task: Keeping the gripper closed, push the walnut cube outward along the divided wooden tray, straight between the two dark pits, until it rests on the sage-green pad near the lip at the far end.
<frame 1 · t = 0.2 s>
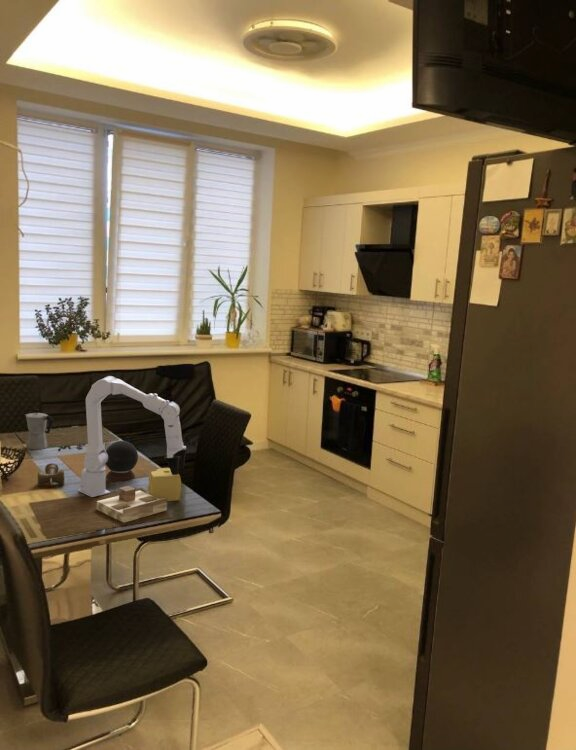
hand: (178, 471, 232), 11 cm above the table, tool pointing down, fingers open, 7 cm apart
divided wooden tray: (131, 509, 220), on the table
walnut cube: (127, 499, 221), point 3 cm above the table, touching divided wooden tray
coffeepot: (38, 447, 289), on the table
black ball: (120, 477, 255), on the table
kendama: (51, 483, 244), on the table
cheese: (163, 497, 235), on the table
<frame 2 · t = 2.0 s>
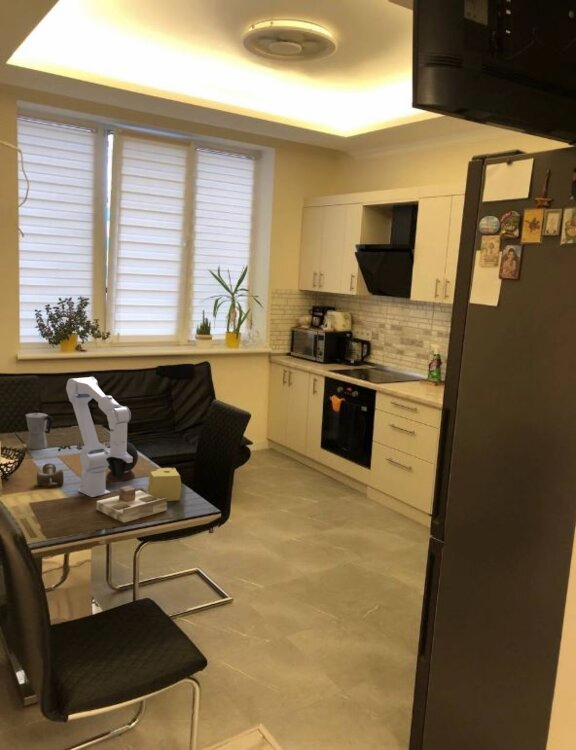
hand: (117, 477, 224), 9 cm above the table, tool pointing down, fingers closed
nothing on the table moved.
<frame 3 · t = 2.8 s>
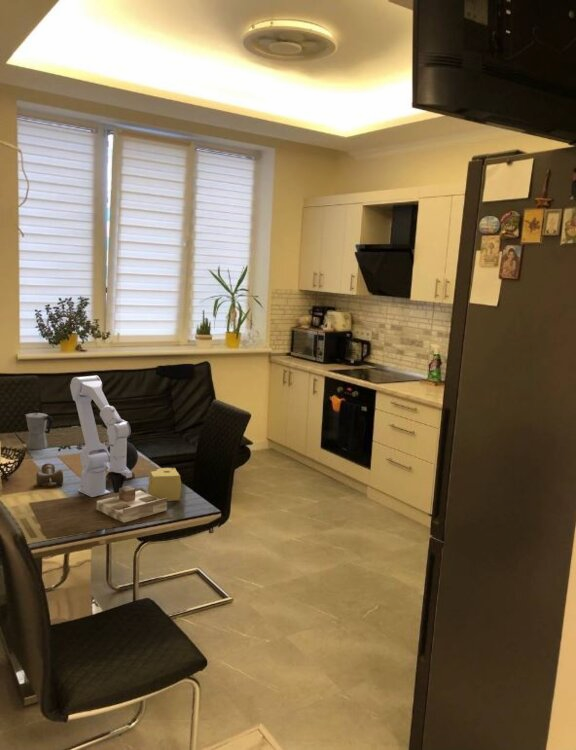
hand: (117, 492, 225), 4 cm above the table, tool pointing down, fingers closed
nothing on the table moved.
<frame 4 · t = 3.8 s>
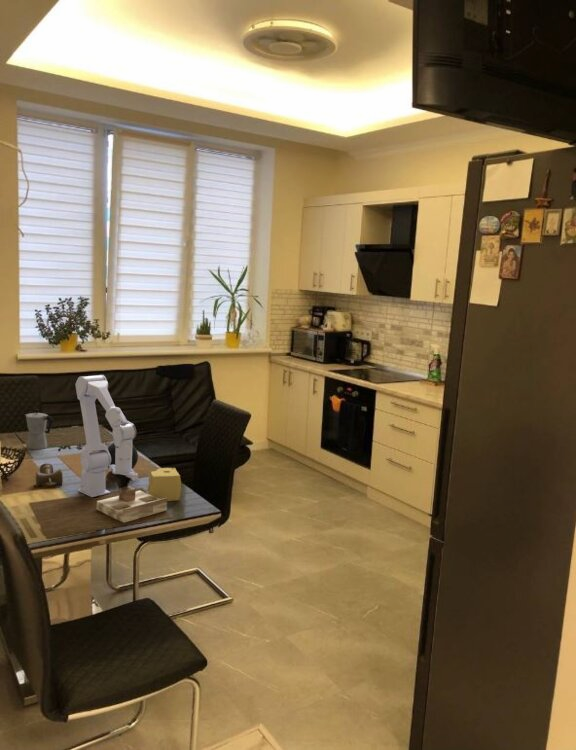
hand: (122, 494, 223), 4 cm above the table, tool pointing down, fingers closed
walnut cube: (127, 499, 221), point 3 cm above the table, touching gripper, divided wooden tray
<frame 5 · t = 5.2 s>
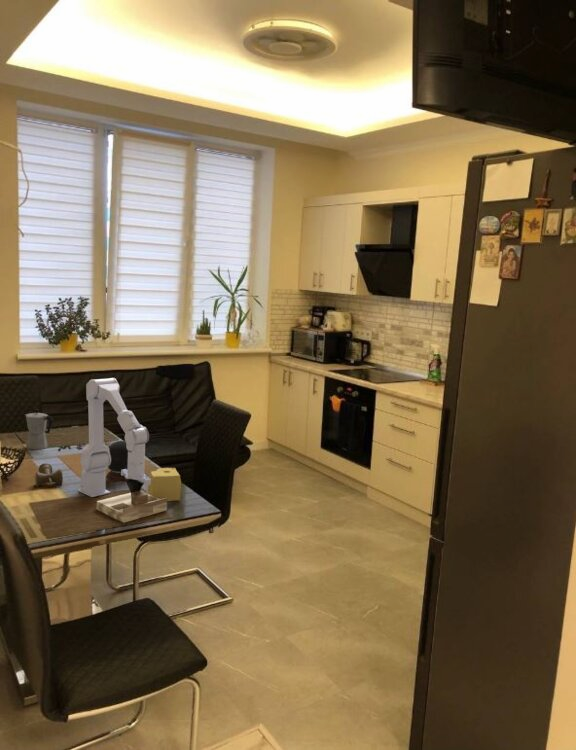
hand: (135, 499, 218), 4 cm above the table, tool pointing down, fingers closed, pressing on walnut cube
walnut cube: (139, 504, 217), point 3 cm above the table, tilted 6°, touching gripper, divided wooden tray
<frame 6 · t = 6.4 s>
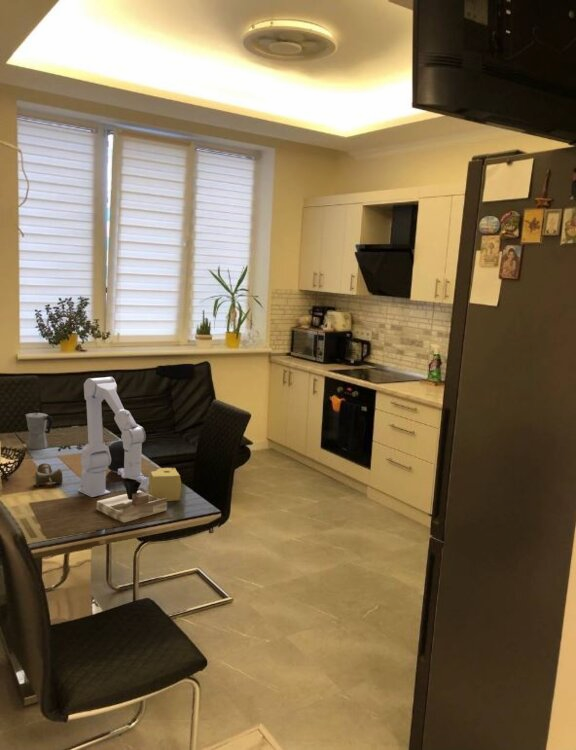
hand: (131, 498, 220), 4 cm above the table, tool pointing down, fingers closed
walnut cube: (140, 505, 216), point 3 cm above the table, touching divided wooden tray
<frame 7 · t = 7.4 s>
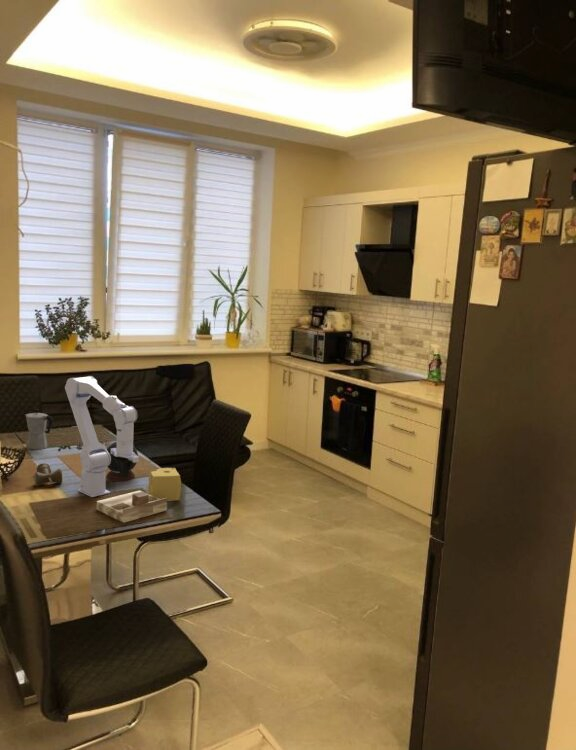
hand: (124, 477, 225), 9 cm above the table, tool pointing down, fingers closed
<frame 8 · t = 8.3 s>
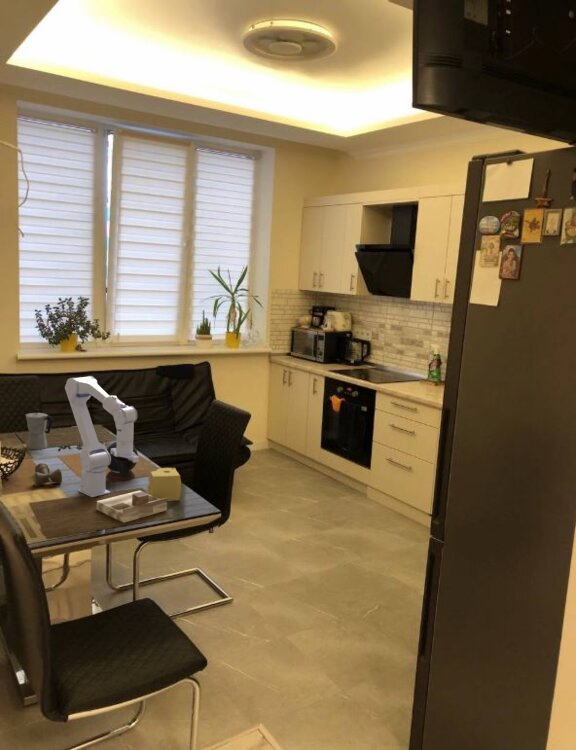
hand: (124, 477, 225), 9 cm above the table, tool pointing down, fingers closed
at the end: walnut cube 0.1 cm from the target spot on the divided wooden tray, point 3.0 cm above the divided wooden tray's base; walnut cube tilted 0° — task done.
